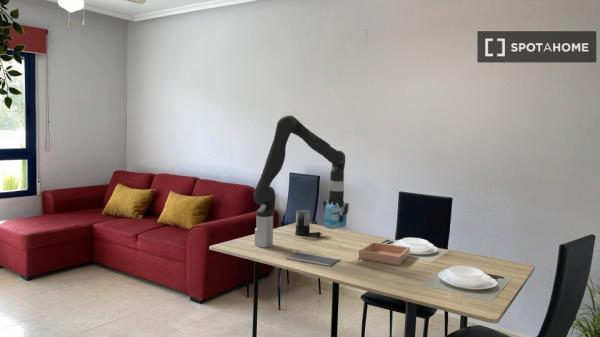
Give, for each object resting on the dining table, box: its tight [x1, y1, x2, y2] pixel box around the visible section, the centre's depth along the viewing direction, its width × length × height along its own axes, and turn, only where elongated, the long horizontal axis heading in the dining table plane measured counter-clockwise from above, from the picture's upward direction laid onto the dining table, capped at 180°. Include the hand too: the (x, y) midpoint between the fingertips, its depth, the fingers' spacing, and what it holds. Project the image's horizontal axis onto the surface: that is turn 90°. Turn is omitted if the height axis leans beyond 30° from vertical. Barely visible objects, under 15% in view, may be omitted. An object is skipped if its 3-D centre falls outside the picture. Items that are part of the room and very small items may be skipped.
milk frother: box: [295, 209, 323, 237], centre depth 278 cm, size 14×16×15 cm
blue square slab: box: [324, 204, 348, 230], centre depth 235 cm, size 12×4×12 cm, turn 131°
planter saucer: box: [358, 241, 411, 266], centre depth 235 cm, size 21×20×4 cm
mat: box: [286, 251, 341, 268], centre depth 229 cm, size 24×12×1 cm, turn 62°
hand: (335, 221), depth 235 cm, fingers closed on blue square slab, 5 cm apart
